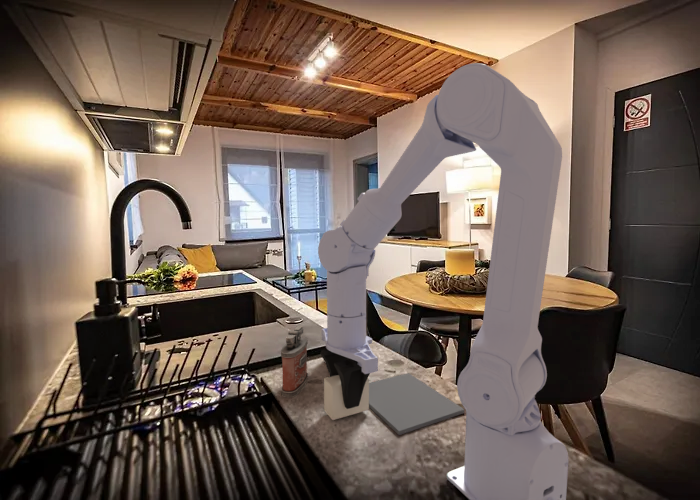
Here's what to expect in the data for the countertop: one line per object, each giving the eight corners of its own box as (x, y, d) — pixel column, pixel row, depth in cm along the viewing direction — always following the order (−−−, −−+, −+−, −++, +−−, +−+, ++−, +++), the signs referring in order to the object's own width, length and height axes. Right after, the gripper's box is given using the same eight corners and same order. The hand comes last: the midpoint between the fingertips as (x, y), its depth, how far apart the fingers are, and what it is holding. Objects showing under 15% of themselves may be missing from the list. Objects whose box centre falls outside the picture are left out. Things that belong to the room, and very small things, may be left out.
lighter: (296, 398, 58) (295, 339, 57) (277, 396, 59) (276, 337, 58) (311, 376, 66) (311, 324, 65) (294, 374, 67) (293, 323, 66)
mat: (464, 413, 54) (464, 409, 54) (398, 435, 48) (399, 431, 48) (408, 376, 66) (408, 373, 66) (351, 390, 61) (351, 387, 61)
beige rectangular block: (368, 409, 54) (368, 377, 53) (332, 420, 51) (332, 386, 50) (359, 400, 56) (359, 370, 56) (324, 410, 53) (324, 378, 53)
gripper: (397, 321, 48) (396, 418, 49) (348, 299, 60) (348, 376, 62) (350, 329, 44) (350, 432, 46) (309, 303, 57) (310, 384, 58)
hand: (346, 400), depth 53 cm, fingers closed on beige rectangular block, 3 cm apart
